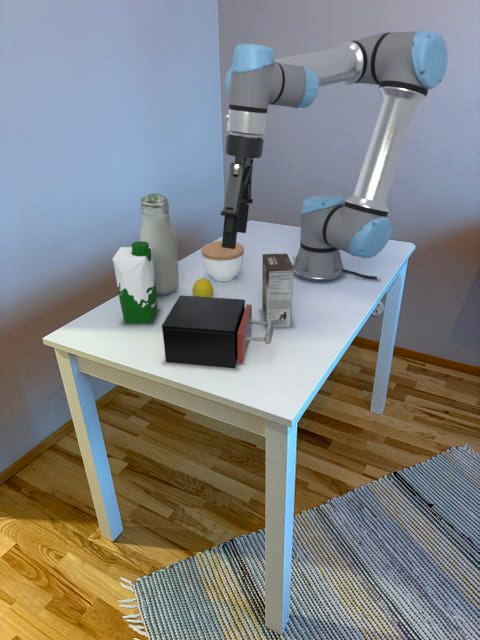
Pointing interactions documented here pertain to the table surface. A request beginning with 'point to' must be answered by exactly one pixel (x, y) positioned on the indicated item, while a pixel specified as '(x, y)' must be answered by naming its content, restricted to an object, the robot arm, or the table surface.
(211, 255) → the lidded bowl
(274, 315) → the coffee box
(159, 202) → the glass bottle
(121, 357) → the table surface
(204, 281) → the lemon
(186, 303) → the cabinet
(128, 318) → the milk carton
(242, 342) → the drawer
